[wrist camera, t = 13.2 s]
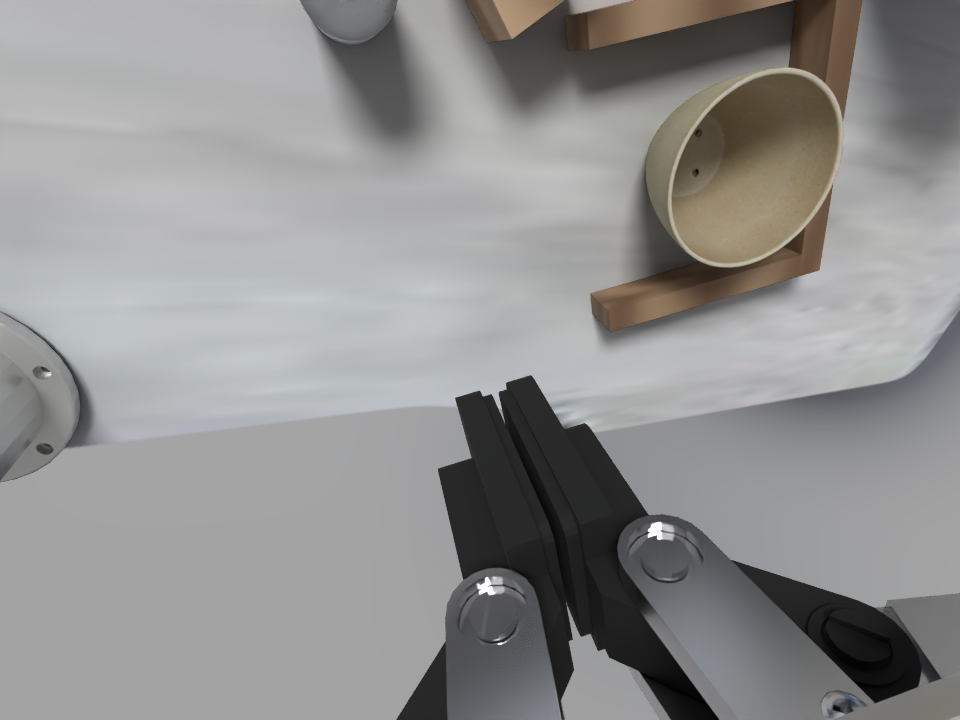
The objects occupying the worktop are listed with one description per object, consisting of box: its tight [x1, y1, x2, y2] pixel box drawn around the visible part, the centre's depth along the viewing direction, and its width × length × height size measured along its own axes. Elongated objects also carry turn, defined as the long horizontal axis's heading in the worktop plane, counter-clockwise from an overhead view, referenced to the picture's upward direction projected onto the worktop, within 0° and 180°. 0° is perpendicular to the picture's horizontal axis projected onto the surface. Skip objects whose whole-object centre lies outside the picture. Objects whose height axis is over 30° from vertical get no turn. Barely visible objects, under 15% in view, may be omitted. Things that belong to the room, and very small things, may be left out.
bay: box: [565, 0, 862, 332], centre depth 32 cm, size 16×18×3 cm
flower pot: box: [646, 67, 844, 268], centre depth 30 cm, size 10×10×7 cm
